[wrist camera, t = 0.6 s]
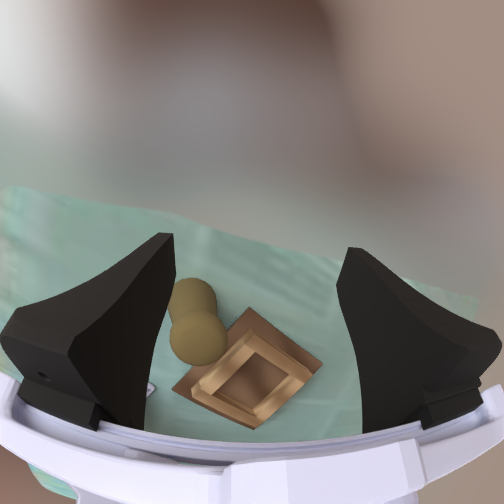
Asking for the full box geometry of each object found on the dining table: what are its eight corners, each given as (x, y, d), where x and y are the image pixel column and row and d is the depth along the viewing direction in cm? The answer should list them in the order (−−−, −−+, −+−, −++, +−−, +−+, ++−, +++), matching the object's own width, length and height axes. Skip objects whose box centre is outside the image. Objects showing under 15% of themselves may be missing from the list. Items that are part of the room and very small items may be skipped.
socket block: (252, 428, 39) (256, 437, 36) (171, 388, 33) (172, 399, 31) (321, 362, 39) (329, 370, 37) (249, 306, 34) (254, 314, 32)
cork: (222, 284, 33) (245, 323, 22) (208, 329, 33) (225, 381, 23) (173, 271, 31) (173, 307, 20) (161, 318, 31) (158, 369, 21)
